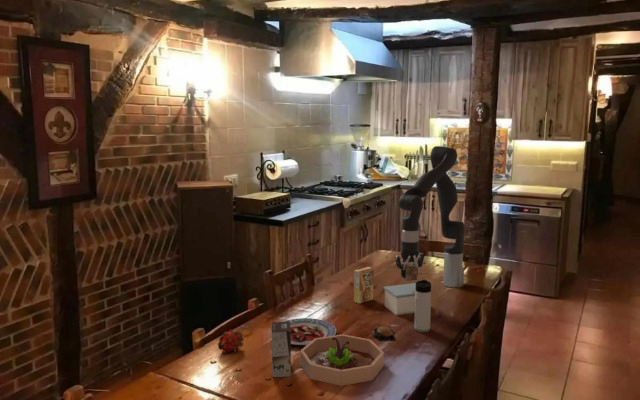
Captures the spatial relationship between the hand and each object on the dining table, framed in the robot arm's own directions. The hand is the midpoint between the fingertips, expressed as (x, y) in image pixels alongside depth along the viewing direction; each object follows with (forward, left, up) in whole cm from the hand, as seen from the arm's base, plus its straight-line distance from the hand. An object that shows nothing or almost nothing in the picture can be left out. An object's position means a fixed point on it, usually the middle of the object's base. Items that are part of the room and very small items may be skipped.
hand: (409, 276), depth 238 cm
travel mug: (+6, +23, -15) cm, 28 cm away
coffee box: (+69, +38, -15) cm, 80 cm away
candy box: (+15, -16, -15) cm, 27 cm away
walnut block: (0, 0, -1) cm, 1 cm away
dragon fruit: (+83, +17, -15) cm, 86 cm away
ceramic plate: (+53, +12, -15) cm, 56 cm away
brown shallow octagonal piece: (+48, +41, -15) cm, 65 cm away
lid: (+1, -1, -7) cm, 7 cm away
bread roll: (+23, +23, -16) cm, 36 cm away
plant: (+50, +42, -15) cm, 67 cm away
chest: (+1, 0, -15) cm, 15 cm away
